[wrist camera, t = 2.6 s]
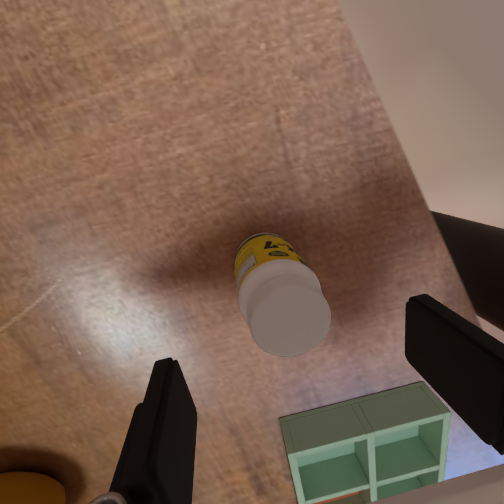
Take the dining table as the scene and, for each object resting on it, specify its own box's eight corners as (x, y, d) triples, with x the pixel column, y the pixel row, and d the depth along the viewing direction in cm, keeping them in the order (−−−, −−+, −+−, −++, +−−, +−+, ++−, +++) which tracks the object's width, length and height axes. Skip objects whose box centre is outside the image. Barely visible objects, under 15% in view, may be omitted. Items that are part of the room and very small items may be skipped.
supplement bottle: (305, 249, 21) (359, 305, 13) (273, 297, 22) (305, 377, 14) (252, 219, 19) (276, 261, 11) (221, 272, 20) (223, 344, 12)
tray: (423, 381, 27) (451, 411, 24) (417, 508, 35) (438, 544, 32) (278, 417, 26) (287, 455, 23) (306, 539, 34) (315, 579, 31)
